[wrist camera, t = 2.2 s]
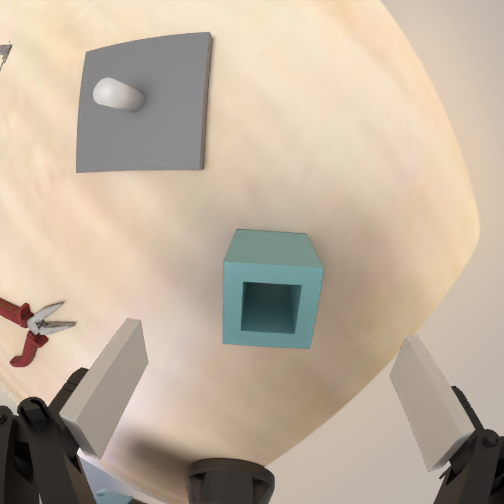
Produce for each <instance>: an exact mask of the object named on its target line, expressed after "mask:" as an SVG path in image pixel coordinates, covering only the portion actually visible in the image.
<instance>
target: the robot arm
mask: <svg viewBox="0 0 504 504" xmlns="http://www.w3.org/2000/svg"><path fill="white" fill-rule="evenodd" d="M147 364H148V358H147V353H146V348H145V342H144V336H143V330H142V324H141V320H135V319H129V318H127V319H126V320H125V322H124V323H123V324H122V326H121V327H120V328H119V330H118V331H117V332H116V334H115V335H114V336H113V338H112V339H111V340H110V342H109V343H108V344H107V346H106V347H105V348H104V350H103V351H102V352H101V354H100V355H99V357H98V358H97V359H96V361H95V362H94V363H93V365H92V366H91V368H90V369H86V368H82V367H81V368H80V369H78V370H77V371H75V372H74V373H72V375H71V376H70V377H69V379H68V380H67V383H65V384H64V386H63V387H62V389H61V390H60V391H59V392H58V394H57V395H56V397H55V398H54V399H53V401H52V402H51V404H50V405H49V406H48V407H47V405H46V404H45V402H44V401H43V400H42V399H41V398H38V397H29V398H26V399H24V400H23V401H22V402H20V404H19V406H18V409H17V413H18V414H19V416H16V415H14V414H13V413H12V411H11V410H10V409H9V408H8V407H7V406H0V504H39V494H40V497H41V501H42V504H147V503H144V502H141V501H139V500H136V499H134V498H133V497H132V496H127V495H124V494H121V493H119V492H116V491H114V490H111V489H108V488H103V489H100V490H98V491H97V492H96V493H95V494H94V496H93V494H92V491H91V489H90V486H89V484H88V481H87V479H86V476H85V473H84V470H83V468H82V465H81V462H80V459H79V456H78V454H77V451H78V449H79V447H80V448H81V450H82V451H83V453H84V454H85V455H88V456H91V457H93V458H96V459H98V460H101V458H102V456H103V453H104V451H105V449H106V447H107V445H108V443H109V441H110V439H111V436H112V434H113V432H114V430H115V428H116V426H117V424H118V422H119V420H120V418H121V416H122V414H123V412H124V410H125V408H126V406H127V404H128V402H129V400H130V398H131V396H132V394H133V392H134V390H135V388H136V386H137V384H138V382H139V380H140V378H141V376H142V374H143V372H144V370H145V368H146V366H147ZM390 378H391V381H392V383H393V385H394V387H395V390H396V392H397V394H398V397H399V399H400V401H401V404H402V406H403V408H404V411H405V413H406V416H407V418H408V421H409V423H410V425H411V428H412V430H413V433H414V435H415V437H416V441H417V443H418V446H419V448H420V451H421V454H422V456H423V459H424V462H425V465H426V467H427V470H428V472H430V471H433V470H436V469H440V468H442V467H443V466H444V465H445V464H446V463H447V462H448V461H450V464H451V466H450V467H449V468H448V469H447V470H446V471H445V472H444V473H443V474H442V475H441V476H440V478H439V479H441V478H443V477H444V476H445V478H444V480H443V483H442V485H441V487H440V490H439V492H438V495H437V497H436V499H435V501H434V503H433V504H504V436H502V437H501V436H500V437H499V436H498V434H497V433H496V432H494V431H493V430H489V429H486V430H485V429H484V428H483V426H482V424H481V422H480V421H479V419H478V417H477V416H476V414H475V412H474V410H473V409H472V408H471V405H470V404H469V402H468V401H467V399H466V397H465V395H464V394H463V392H462V391H460V390H459V389H458V388H457V387H456V386H450V385H449V383H448V382H447V381H446V379H445V377H444V375H443V374H442V372H441V370H440V369H439V367H438V366H437V364H436V363H435V361H434V360H433V358H432V357H431V355H430V354H429V352H428V351H427V349H426V348H425V346H424V345H423V343H422V342H421V340H420V339H419V337H418V336H417V335H416V336H405V338H404V341H403V343H402V346H401V349H400V351H399V354H398V356H397V359H396V361H395V364H394V366H393V369H392V371H391V373H390ZM185 481H186V487H187V493H188V498H189V504H268V503H269V501H270V499H271V496H272V494H273V491H274V487H275V478H274V475H273V474H272V473H271V472H270V471H269V470H267V469H266V468H264V467H262V466H259V465H256V464H253V463H249V462H245V461H240V460H232V459H206V460H200V461H197V462H194V463H192V464H191V465H190V466H189V467H188V469H187V473H186V478H185Z"/></svg>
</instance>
